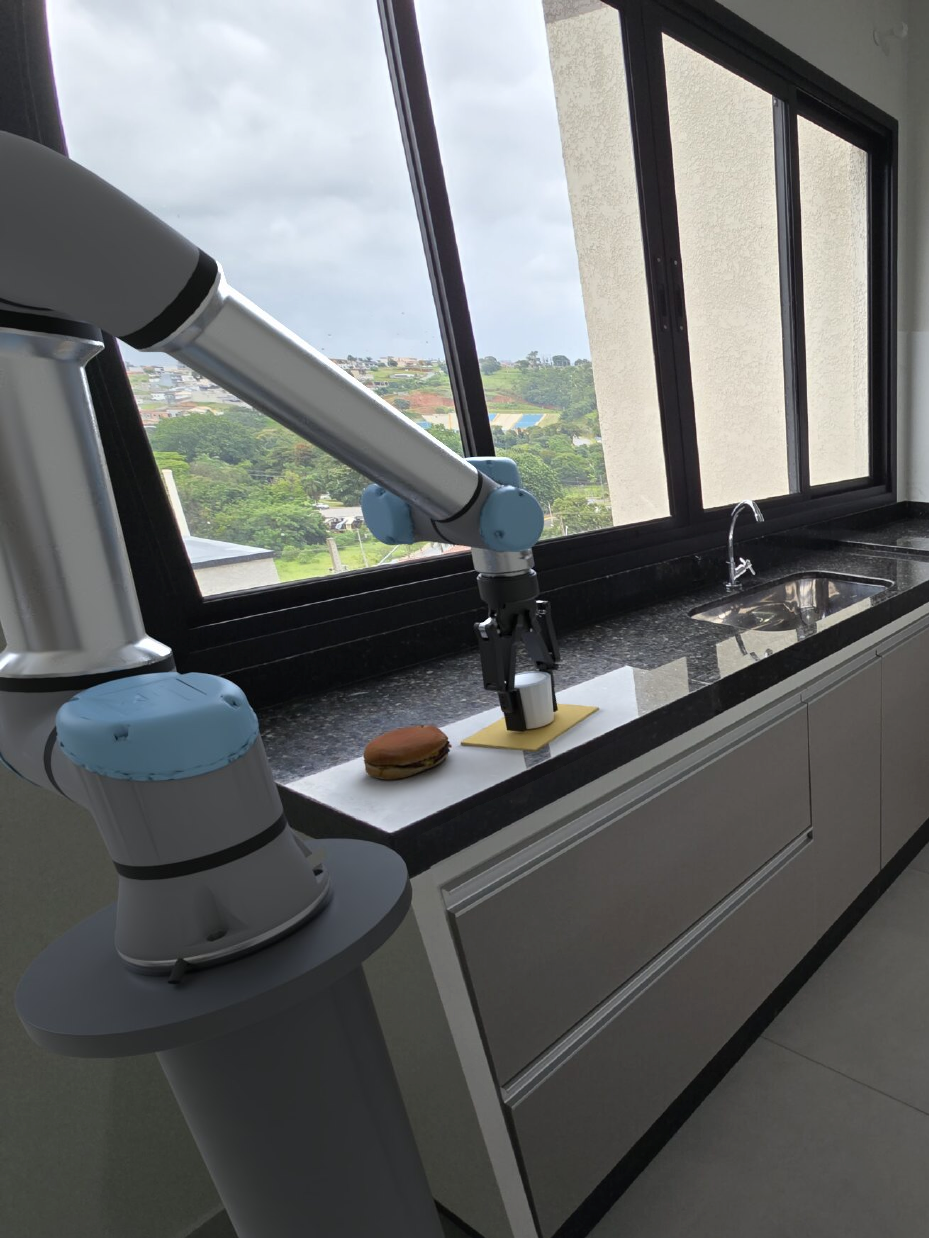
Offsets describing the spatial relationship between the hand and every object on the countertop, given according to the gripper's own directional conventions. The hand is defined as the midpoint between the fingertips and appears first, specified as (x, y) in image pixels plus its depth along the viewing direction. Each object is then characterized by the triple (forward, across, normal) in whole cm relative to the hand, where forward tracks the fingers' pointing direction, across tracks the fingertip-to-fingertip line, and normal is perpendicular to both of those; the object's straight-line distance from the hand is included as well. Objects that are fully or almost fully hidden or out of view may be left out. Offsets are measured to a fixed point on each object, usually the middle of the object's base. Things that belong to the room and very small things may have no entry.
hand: (533, 719), depth 113 cm
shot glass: (0, 0, 0) cm, 0 cm away
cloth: (+1, 0, 0) cm, 1 cm away
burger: (+1, -15, +8) cm, 17 cm away
